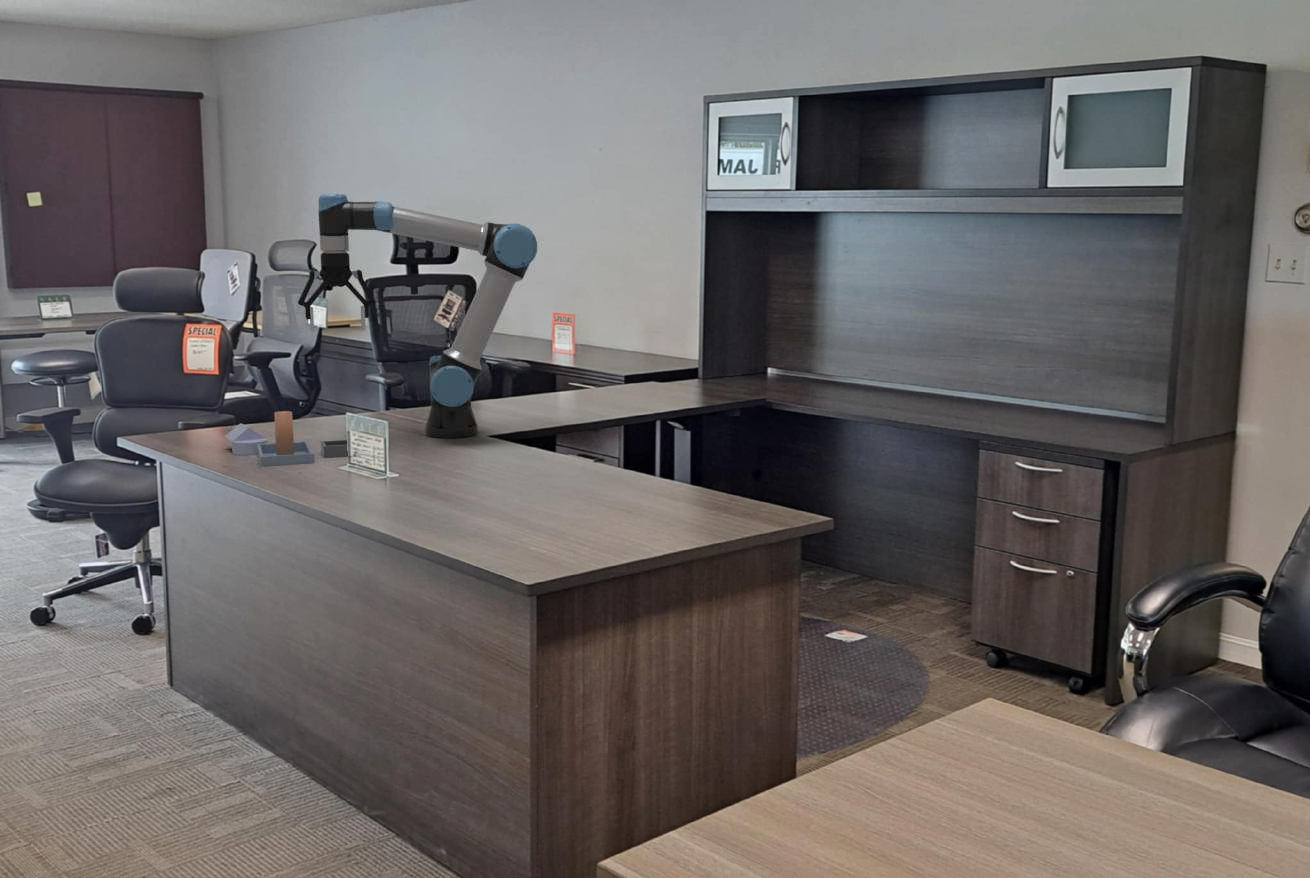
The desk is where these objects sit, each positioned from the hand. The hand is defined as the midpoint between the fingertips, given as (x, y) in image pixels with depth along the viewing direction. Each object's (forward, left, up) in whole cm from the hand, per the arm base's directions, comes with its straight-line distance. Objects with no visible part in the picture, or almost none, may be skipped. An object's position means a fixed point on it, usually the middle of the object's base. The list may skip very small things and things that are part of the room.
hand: (338, 331), depth 333 cm
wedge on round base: (+25, 0, -32) cm, 41 cm away
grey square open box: (+3, +16, -32) cm, 36 cm away
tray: (+16, +17, -32) cm, 40 cm away
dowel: (+16, +17, -31) cm, 39 cm away
